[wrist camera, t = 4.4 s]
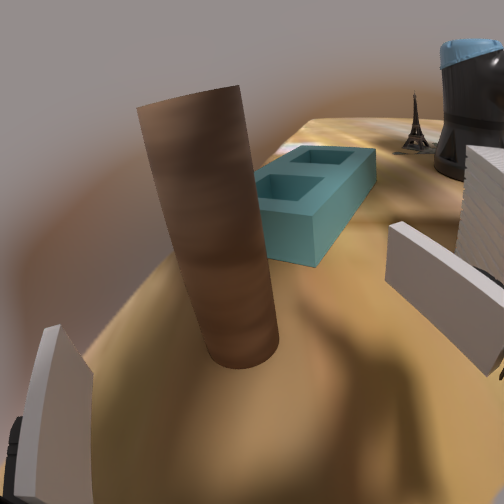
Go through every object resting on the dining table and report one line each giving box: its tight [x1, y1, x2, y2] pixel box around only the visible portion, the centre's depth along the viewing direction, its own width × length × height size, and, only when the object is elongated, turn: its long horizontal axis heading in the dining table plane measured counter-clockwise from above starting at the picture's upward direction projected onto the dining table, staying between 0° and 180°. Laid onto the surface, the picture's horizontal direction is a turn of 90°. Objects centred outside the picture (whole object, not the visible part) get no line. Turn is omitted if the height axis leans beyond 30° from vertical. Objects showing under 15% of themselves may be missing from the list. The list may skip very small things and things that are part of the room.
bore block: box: [254, 145, 377, 268], centre depth 38 cm, size 24×12×5 cm, turn 147°
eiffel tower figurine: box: [393, 93, 438, 154], centre depth 56 cm, size 15×10×13 cm
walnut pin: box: [137, 85, 279, 369], centre depth 18 cm, size 5×5×16 cm
